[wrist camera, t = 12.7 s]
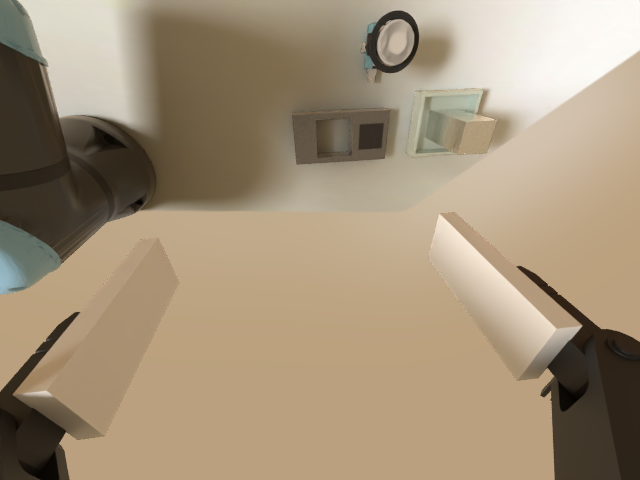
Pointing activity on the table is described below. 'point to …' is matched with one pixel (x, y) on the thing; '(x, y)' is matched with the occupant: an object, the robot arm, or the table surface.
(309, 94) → the table surface
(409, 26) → the push button
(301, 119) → the dark gray slotted holder
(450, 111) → the block
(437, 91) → the parts tray
